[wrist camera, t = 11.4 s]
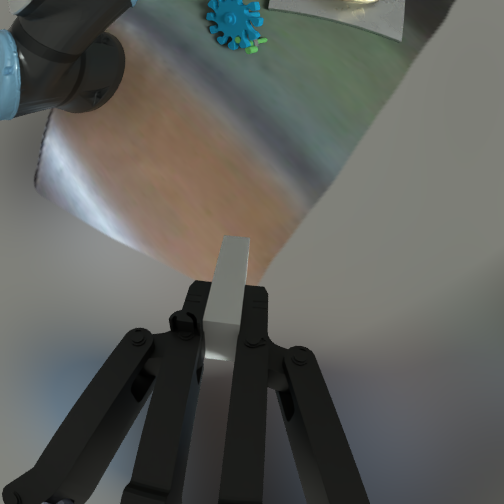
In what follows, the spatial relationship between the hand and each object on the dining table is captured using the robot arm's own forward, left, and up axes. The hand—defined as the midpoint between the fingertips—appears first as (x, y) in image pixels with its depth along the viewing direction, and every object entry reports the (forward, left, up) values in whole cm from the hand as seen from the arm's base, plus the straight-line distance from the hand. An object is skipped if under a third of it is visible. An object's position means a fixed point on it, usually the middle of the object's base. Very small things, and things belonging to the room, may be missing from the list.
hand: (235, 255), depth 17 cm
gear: (-6, +20, -29) cm, 36 cm away
